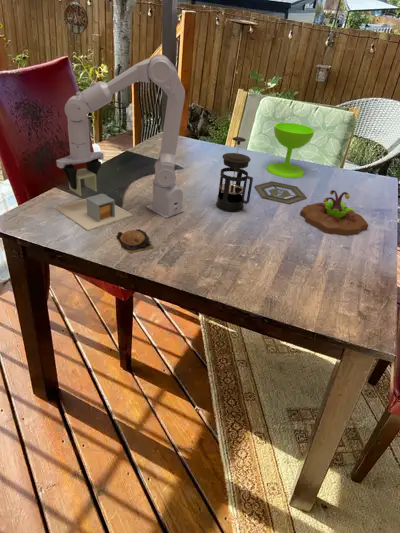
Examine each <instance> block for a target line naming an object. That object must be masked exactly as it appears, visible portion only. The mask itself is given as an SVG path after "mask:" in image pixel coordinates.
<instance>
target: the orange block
mask: <svg viewBox="0 0 400 533" xmlns="http://www.w3.org/2000/svg"><path fill="white" fill-rule="evenodd" d="M99 211H100V220H101V219H104V218H107V217H110V216H111V210H110V204H109V203H108V204H104V205H101V206H99Z"/></svg>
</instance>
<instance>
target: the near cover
mask: <svg viewBox="0 0 400 533" xmlns="http://www.w3.org/2000/svg"><path fill="white" fill-rule="evenodd" d="M85 199H86V203H87V215H89V216H90V217H92V218H93V219H95V220H96V221H98V222H100V211H99V206H101V205H104V204H108V203H109V204H110V210H111V216H113V217H115V205H116V203H115V202H116V201H115V199H113V198H112V197H109V196H108V195H107V194H105V193H99V194H96V195H92V196H88V197H85Z"/></svg>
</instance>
